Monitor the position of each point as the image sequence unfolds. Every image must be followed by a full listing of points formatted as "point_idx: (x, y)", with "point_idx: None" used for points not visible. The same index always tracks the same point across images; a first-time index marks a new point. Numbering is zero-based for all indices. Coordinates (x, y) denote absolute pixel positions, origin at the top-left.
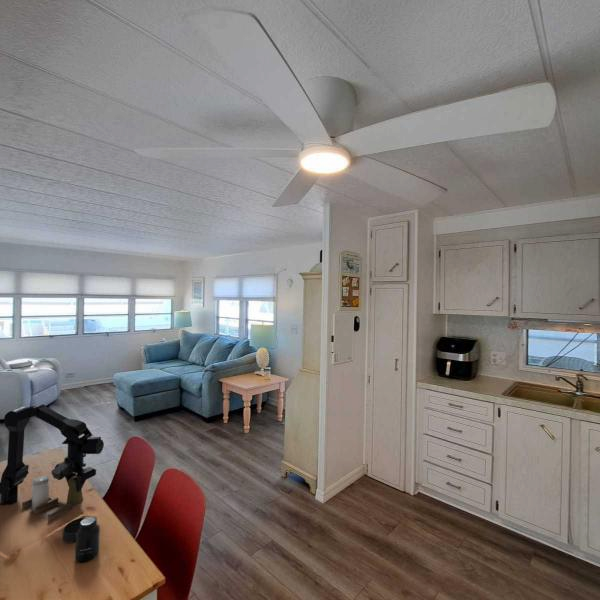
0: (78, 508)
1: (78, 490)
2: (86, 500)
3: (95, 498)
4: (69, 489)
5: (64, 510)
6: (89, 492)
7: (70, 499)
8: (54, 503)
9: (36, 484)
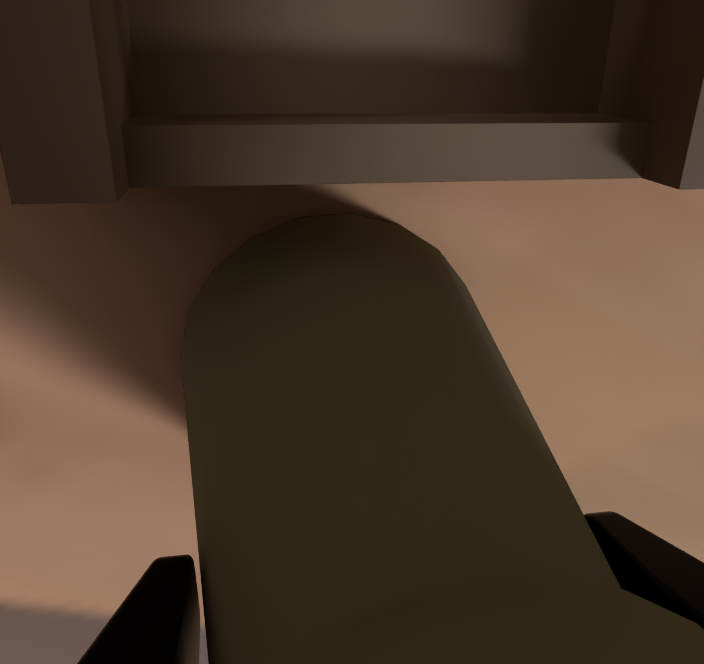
0: (61, 297)
1: (131, 613)
2: None
3: None
4: (458, 482)
5: None
6: None
7: (290, 308)
8: (635, 73)
9: None
